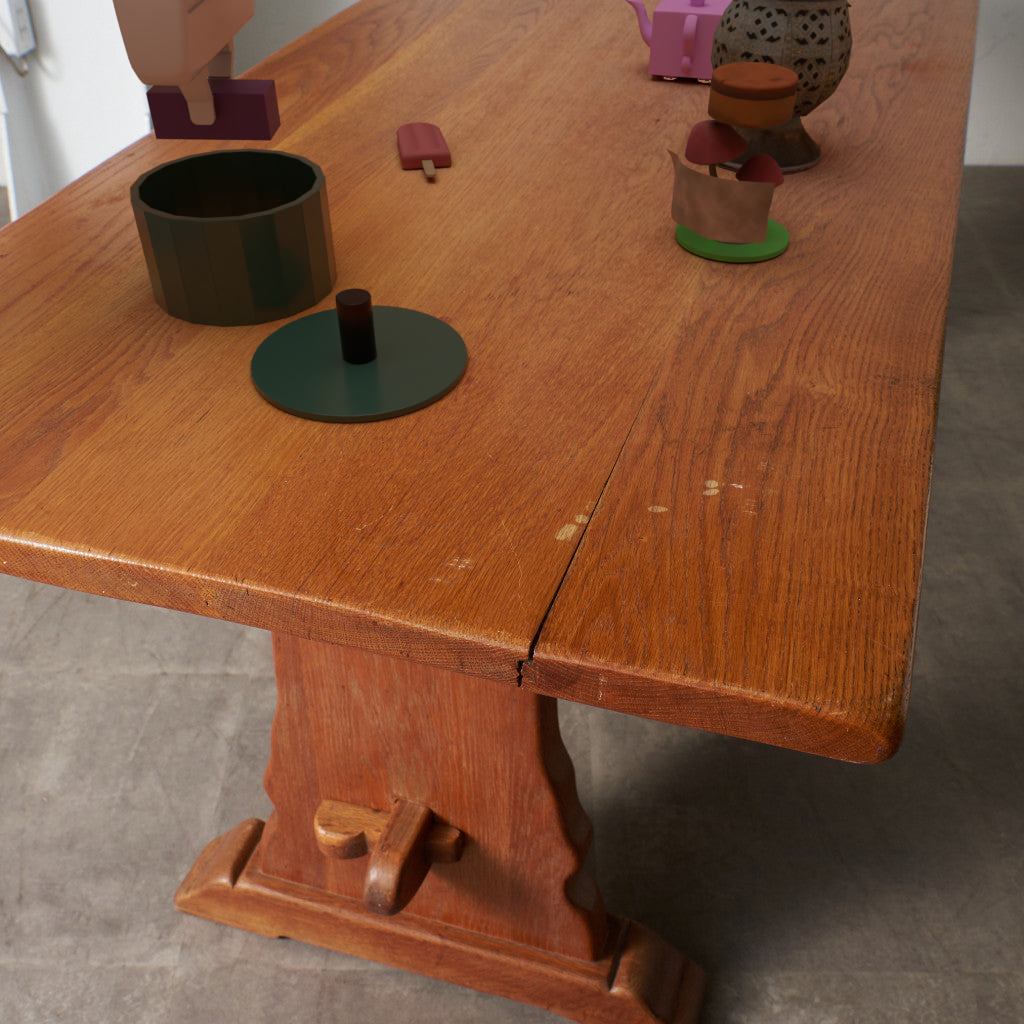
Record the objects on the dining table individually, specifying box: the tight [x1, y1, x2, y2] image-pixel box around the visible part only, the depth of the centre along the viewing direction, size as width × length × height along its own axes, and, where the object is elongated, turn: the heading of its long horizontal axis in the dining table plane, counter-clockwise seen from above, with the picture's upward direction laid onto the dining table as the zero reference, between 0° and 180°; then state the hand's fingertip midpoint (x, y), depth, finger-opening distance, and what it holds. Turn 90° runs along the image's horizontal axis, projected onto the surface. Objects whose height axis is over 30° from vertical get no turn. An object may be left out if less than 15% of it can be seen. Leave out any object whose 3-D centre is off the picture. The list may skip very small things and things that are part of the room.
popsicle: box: [396, 121, 452, 178], centre depth 112 cm, size 5×2×15 cm
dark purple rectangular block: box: [145, 78, 282, 141], centre depth 78 cm, size 9×4×4 cm, turn 88°
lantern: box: [711, 0, 854, 175], centre depth 106 cm, size 14×14×25 cm
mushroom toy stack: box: [666, 62, 798, 263], centre depth 91 cm, size 12×13×15 cm
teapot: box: [624, 0, 732, 81], centre depth 134 cm, size 18×14×10 cm
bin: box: [129, 148, 338, 328], centre depth 85 cm, size 15×16×10 cm
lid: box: [249, 288, 468, 424], centre depth 76 cm, size 16×16×6 cm
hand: (214, 111), depth 78 cm, fingers closed on dark purple rectangular block, 3 cm apart
